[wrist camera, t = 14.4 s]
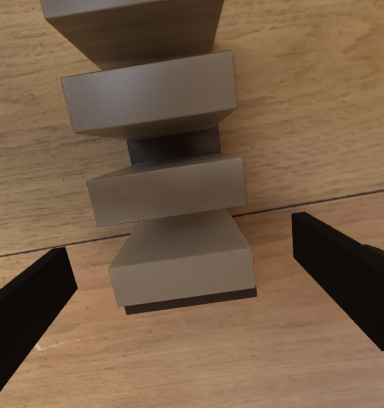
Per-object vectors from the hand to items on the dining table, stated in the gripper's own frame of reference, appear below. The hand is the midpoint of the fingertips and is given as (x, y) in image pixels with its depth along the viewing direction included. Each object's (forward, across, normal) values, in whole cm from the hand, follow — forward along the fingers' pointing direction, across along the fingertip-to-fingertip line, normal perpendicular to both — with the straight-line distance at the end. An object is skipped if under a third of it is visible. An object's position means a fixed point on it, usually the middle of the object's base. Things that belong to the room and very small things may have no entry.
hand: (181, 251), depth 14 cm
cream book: (+9, 0, 0) cm, 9 cm away
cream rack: (+10, 0, +5) cm, 11 cm away
